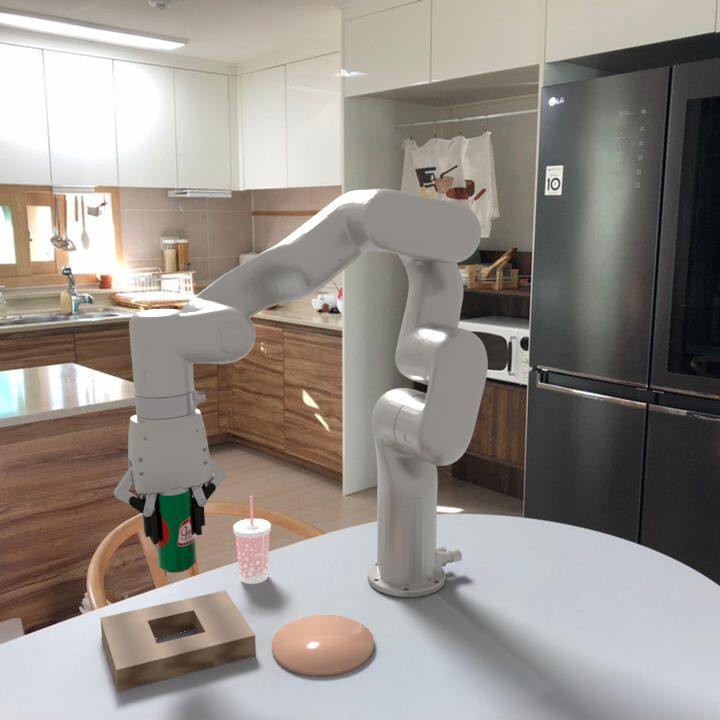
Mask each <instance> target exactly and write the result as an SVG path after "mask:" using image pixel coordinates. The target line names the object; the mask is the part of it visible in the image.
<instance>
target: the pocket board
mask: <svg viewBox="0 0 720 720" xmlns="http://www.w3.org/2000/svg"><path fill="white" fill-rule="evenodd" d="M100 629H101V630H100V631H101V638H102V639H101V640H102V642H103V646H104V648H105V653H106V656H107V657H106V658H107V660H108V663H109V665H110V666H109V667H110V669H111V673H112V677H113V681H114V683H115V687H116V690H117V692H122V691H126V690H129V689H135V688H137V687H141V686H145V685H149V684H152V683H153V684H154V683H157V682H160V681H164V680H168V679H171V678H175V677H176V678H177V677H179V676H183V675H187V674H192V673H195V672H198V671H201V670H202V671H203V670H207V669H210V668H213V667H217V666H221V665H225V664H228V663H233V662H236V661H241V660H244V659H249V658H251V657H255V656H257V652H256V651H257V648H256V634H255V633H254V631H253V630H252V628H251V626H250V625H249V624H248V622H247V621H246V619H245V618H244V616H243V615H242V613H241V612H240V610H239V609H238V607H237V606H236V604H235V602H234V601H233V599H232V598H231V597H230V595H229V594H228V592H227V590H224V589H223V590H221V591H216V592H211V593H206V594H203V595H198V596H193V597H188V598H185V599H180V600H176V601H171V602H166V603H162V604H158V605H153V606H147V607H144V608H138V609H134V610H131V611H130V610H129V611H126V612H120V613H115V614H112V615H107V616H103V617H100ZM193 629H195V630H193ZM188 630H190V631H195V633H196V634H192V635H187V636H183V637H179V638H175V639H172V640H167V641H162V642H159V643H157V641H156V639H155V638H157V639H161V638H164V637H168V636H167V635H169V636H172V635H173V634H174V635H177V633H178V634H181V633H180V632H182V633H185V632H184V631H186V632H189V631H188ZM174 635H173V636H174ZM160 637H161V638H160Z"/></svg>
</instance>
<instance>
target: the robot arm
mask: <svg viewBox="0 0 720 720" xmlns="http://www.w3.org/2000/svg"><path fill="white" fill-rule="evenodd" d="M481 239H482V227H481V223H480V221H479V218H478V216H477V215H476V214H475V212H474V211H473V210H472V209H471V208H469V207H468V206H466V205H465V204H462V203H461V202H460V203H459V202H456V201H455V202H454V201H451V200H445V199H440V198H435V197H430V196H424V195H420V194H415V193H410V192H407V191H402V190H396V189H392V188H391V189H389V188H373V189H357V190H351V191H348V192H346V193H343V194H341V195H340V196H339V197H337V198H336V199H334V200H333V201H332V202H330V203H329V204H328V205H326V207H324V208H322V209H321V210H320V211H318V213H317V214H315V215H313V217H311V218H309V220H308V221H306V222H305V223H303V224H302V225H301V226H299V227H298V228H297V229H296V230H295V231H293V232H292V233H291V234H289V235H288V236H287V237H285V238H284V239H282V240H281V241H280V242H278V243H277V244H275V245H274V246H272V247H270V248H268V249H266V250H264V251H262V252H260V253H259V254H256V256H254V257H253V258H250V259H249V260H247V261H245V262H243V263H242V264H240V265H238V266H236V267H234V268H233V269H230V271H227V272H226V273H224V274H223V275H222V276H220V277H219V278H217V279H215V281H213V282H211V284H209V285H208V286H207V287H205V288H203V290H202V291H200V292H199V293H198V294H196V295H195V296H194V297H193V298H191V299H190V300H189V301H188V302H187V303H186V304H185V305H184V306H183V307H182V309H181V310H179V309H175V308H174V309H173V308H157V309H155V308H154V309H153V308H152V309H147V310H146V309H145V310H142V311H138V312H135V313H134V314H133V315H132V316H131V317H130V319H129V323H128V329H129V342H130V354H131V363H132V366H131V367H132V376H133V389H134V392H133V393H134V400H135V401H134V402H135V412H136V414H135V415H134V414H133V415H132V416H131V417H130V419H129V424H128V434H127V435H128V436H127V437H128V438H127V439H128V440H127V447H128V448H127V451H128V453H127V454H128V455H127V456H128V469H127V470H126V472H125V473H124V475H123V477H121V479H120V481H119V482H118V484H117V485H116V487H115V488H114V490H113V494H114V497H115V498H116V499H117V500H119V501H122V502H124V503H126V504H128V505H130V506H131V507H132V508H134V509H135V510H137V511H138V512H140V513H141V514H142V519H143V530H144V531H143V533H144V535H145V537H146V538H149V539H150V541H151V542H152V544H153V545H157V544H158V543H159V534H158V522H157V515H156V514H155V512H154V504H155V500H156V495H157V494H158V493H163V492H166V491H170V490H172V489H170V488H172V487H177V486H181V487H180V488H191V489H192V497H193V512H194V527H195V536H196V535H197V536H202V535H203V528H202V527H204V526H206V519H205V518H206V517H205V506H206V505H207V502H208V500H209V499H210V497H211V496H212V495H213V493H215V492H216V489H217V488H218V487H219V486H220V485H221V484H222V483H224V481H225V480H226V479H227V477H228V474H227V472H226V471H224V470H223V469H222V468H221V467H220V466H219V465H218V464H217V463H216V462H215V461H214V460H213V459H212V458H211V456H210V449H209V444H208V437H207V431H206V426H205V424H204V419H203V415H202V412H201V411H200V409H198V406H199V404H200V403H202V402H206V401H207V396H206V395H207V394H206V392H205V391H199V390H198V391H197V390H196V389H195V383H194V381H195V380H194V364H215V365H218V364H219V365H223V364H224V365H225V364H232V363H236V362H237V361H240V360H241V359H243V358H245V357H246V356H247V355H249V353H250V352H251V351H252V349H253V347H254V346H255V342H256V338H257V337H256V336H257V335H256V333H257V332H256V328H255V325H254V322H253V320H252V319H251V318H252V317H254V316H256V315H258V314H259V313H261V312H262V311H265V310H268V309H269V308H272V307H274V306H277V305H280V304H285V303H289V302H293V301H297V300H301V299H304V298H307V297H310V296H312V295H314V294H316V293H318V292H319V291H320V290H322V289H323V288H324V287H325V286H326V285H328V284H329V283H331V281H332V280H333V279H335V278H336V277H337V276H339V275H340V274H341V273H342V272H344V270H346V269H347V268H348V267H350V266H351V265H352V264H353V263H355V262H356V261H357V260H358V259H359V258H361V257H362V256H363V255H364V254H366V253H367V252H383V253H388V254H389V253H390V254H394V255H397V256H399V257H398V258H399V259H400V260H401V263H402V264H403V266H404V269H405V270H406V273H407V279H408V293H407V300H406V306H405V308H404V314H403V318H402V323H401V326H400V327H401V328H400V330H399V334H398V340H397V344H396V349H395V355H394V361H395V365H396V368H397V369H398V371H399V373H400V374H401V375H402V376H404V377H406V378H407V379H409V380H410V381H414V382H417V383H421V384H423V385H426V386H427V391H426V392H423V391H419V390H417V389H412V388H407V387H399V388H398V387H397V388H393V389H391V390H388V391H386V392H385V393H383V394H382V395H381V396H380V397H379V398H378V400H377V402H375V405H374V407H373V410H372V415H371V431H372V435H373V437H372V438H373V442H374V447H375V455H376V465H377V468H376V469H377V492H376V493H377V494H376V495H377V497H376V498H377V505H376V507H377V514H376V515H377V516H376V517H377V518H376V519H377V521H376V522H377V525H376V526H377V527H376V528H377V530H376V531H377V532H376V533H377V534H376V535H377V537H376V538H377V540H376V541H377V542H376V544H377V545H376V547H377V548H376V549H377V552H376V554H377V555H376V556H377V557H376V558H377V559H376V560H377V561H376V562H375V563H373V564H372V565H371V566H370V567H369V569H368V570H367V581H368V583H369V585H370V586H371V587H372V588H373V589H375V590H376V591H379V592H380V593H383V594H386V595H388V596H393V597H401V598H417V597H419V598H420V597H424V596H428V595H431V594H434V593H436V592H438V591H439V590H440V589H442V588H443V587H444V585H445V583H446V571H445V570H444V567H446V566H447V564H453V563H457V562H460V561H462V560H463V556H462V555H463V554H462V552H461V550H460V549H459V548H458V549H452V550H447V548H446V547H445V546H440V547H437V527H438V526H437V525H438V524H437V522H438V521H437V520H438V519H437V518H438V515H437V514H438V485H439V481H438V479H439V478H438V468H437V466H443V467H444V466H448V465H449V466H450V465H452V464H453V463H455V462H458V460H460V458H461V457H463V455H464V454H465V452H466V451H467V449H468V448H469V445H470V443H471V442H472V441H471V440H472V438H473V434H474V430H475V426H476V423H477V419H478V416H479V415H478V414H479V410H480V406H481V402H482V398H483V393H484V389H485V385H486V381H487V376H488V370H489V369H488V368H489V367H488V364H489V362H488V354H487V350H486V347H485V345H484V343H483V341H482V340H481V339H480V337H479V336H478V335H477V334H475V333H474V332H472V331H470V330H468V329H465V328H462V327H459V324H460V316H461V311H462V305H463V300H464V281H463V277H462V272H461V271H460V267H459V265H458V263H461V262H464V261H466V260H467V259H470V257H471V256H472V255H473V254H475V252H476V250H477V249H478V247H479V245H480V243H481ZM132 486H134V489H135V492H136V494H135V493H133V492H131V491H129V490H130V489H131V487H132ZM137 494H138V495H141V496H140V497H139V496H138V495H137Z"/></svg>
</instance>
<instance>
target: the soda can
mask: <svg viewBox="0 0 720 720" xmlns="http://www.w3.org/2000/svg"><path fill="white" fill-rule="evenodd" d="M180 487H181V486H177V487H172V488H170V489H172V490H170V491H166V492H163V493H158V494H157V495H156V500H155V504H154V508H153V509H154V512H155V514H156V515H157V522H158V534H159V543H158V544H156V551H157V553H156V554H157V564H158V567H159V568H160V569H161V570H162V571H164V572H166V573H173V574H174V573H175V574H177V573H182V572H183V573H184V572H186V571H188V570H190V569H191V568H193V566H194V565H195V564H196V562H197V561H198V560H197V559H198V558H197V543H196V534H195V527H194V512H193V496H192V489H191V488H180Z"/></svg>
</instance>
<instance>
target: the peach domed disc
mask: <svg viewBox="0 0 720 720" xmlns="http://www.w3.org/2000/svg"><path fill="white" fill-rule="evenodd" d="M374 640H375V639H374V636H373V633H372V631H370V629H369V628H368V627H367V626H366V625H365V624H363V623H361V622H359V621H358V620H356V619H355V620H354V619H352V618H348V617H344V616H342V615H341V616H340V615H332V614H331V615H330V614H329V615H327V614H322V615H321V614H318V615H310V616H305V617H301V618H297V619H295V620H292V621H290V622H289V623H287V624H285V625H284V626H282V627H280V629H278V630H277V631H276V633H275V634H274V636H273V637H272V641H271V652H272V657H273V658H274V660H275V661H276V662H277V664H279V666H281V667H282V668H284V669H286V670H288V671H289V672H291V673H295V674H298V675H301V676H308V677H332V676H333V677H334V676H339V675H342V674H347V673H349V672H353V671H354V670H356V669H358V668H359V667H362V666H363V665H364V664H365V663H367V662H368V661H369V660H370V658H371V657H372V656H373V653H374V650H375V649H374V648H375V645H374V644H375V641H374Z"/></svg>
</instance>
